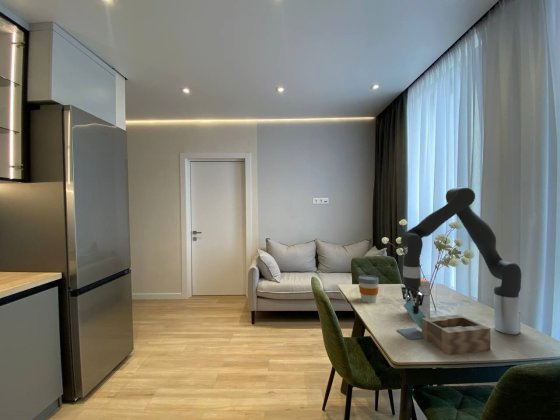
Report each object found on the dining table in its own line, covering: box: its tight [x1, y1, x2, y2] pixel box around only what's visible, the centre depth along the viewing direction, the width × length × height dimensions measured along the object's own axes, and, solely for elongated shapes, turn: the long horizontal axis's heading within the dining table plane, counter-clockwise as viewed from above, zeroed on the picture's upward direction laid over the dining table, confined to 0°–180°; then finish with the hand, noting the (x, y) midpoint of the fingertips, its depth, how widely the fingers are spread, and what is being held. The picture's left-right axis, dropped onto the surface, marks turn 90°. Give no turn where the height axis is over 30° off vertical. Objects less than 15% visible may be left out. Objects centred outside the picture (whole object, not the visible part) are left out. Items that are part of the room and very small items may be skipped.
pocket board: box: [421, 314, 491, 356], centre depth 125 cm, size 20×16×9 cm
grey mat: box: [396, 327, 424, 341], centre depth 135 cm, size 10×10×1 cm
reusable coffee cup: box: [358, 274, 380, 304], centre depth 185 cm, size 12×12×15 cm
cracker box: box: [411, 277, 431, 318], centre depth 158 cm, size 14×6×21 cm, turn 179°
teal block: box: [403, 300, 426, 330], centre depth 135 cm, size 14×4×4 cm
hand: (412, 311), depth 135 cm, fingers closed on teal block, 4 cm apart
